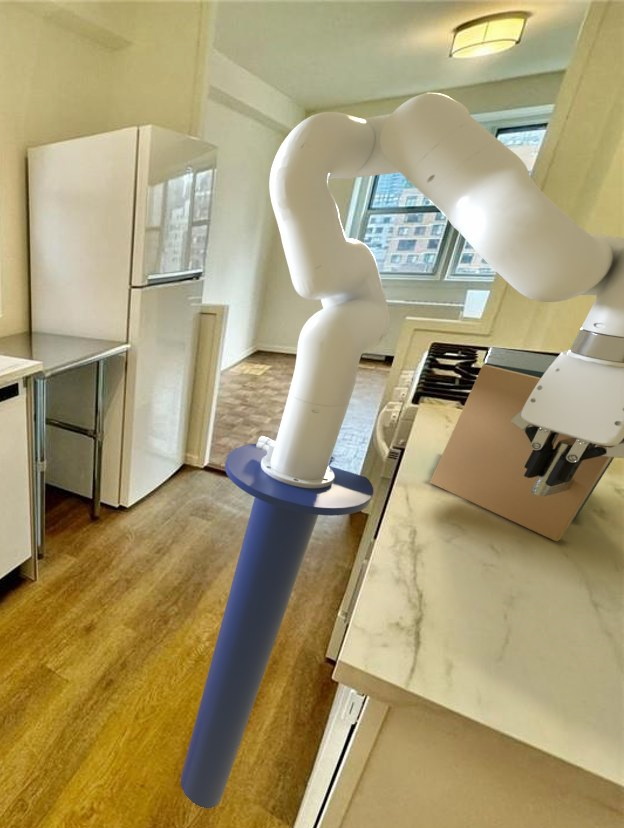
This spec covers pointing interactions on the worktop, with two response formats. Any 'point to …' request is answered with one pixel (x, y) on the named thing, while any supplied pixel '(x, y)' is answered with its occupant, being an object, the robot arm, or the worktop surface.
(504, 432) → the fridge door
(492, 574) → the worktop surface
